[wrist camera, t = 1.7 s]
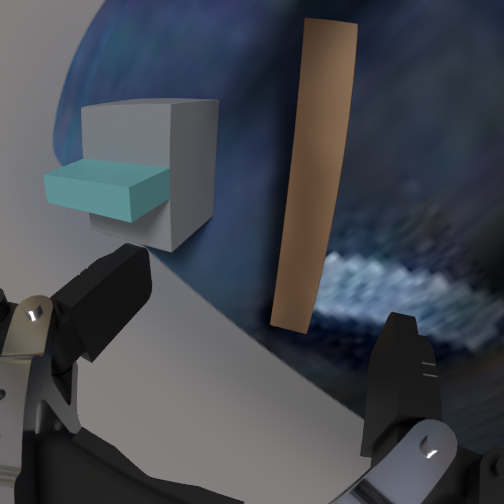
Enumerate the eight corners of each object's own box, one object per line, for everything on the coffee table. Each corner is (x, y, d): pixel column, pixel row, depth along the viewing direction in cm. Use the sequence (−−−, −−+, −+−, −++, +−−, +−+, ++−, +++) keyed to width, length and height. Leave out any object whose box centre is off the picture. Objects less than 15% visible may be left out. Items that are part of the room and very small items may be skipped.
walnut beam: (357, 40, 17) (357, 24, 13) (316, 297, 28) (306, 333, 24) (315, 34, 18) (304, 17, 13) (284, 290, 29) (270, 324, 24)
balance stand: (219, 100, 22) (127, 110, 13) (213, 215, 27) (138, 282, 18) (138, 98, 24) (38, 116, 15) (140, 200, 29) (57, 252, 20)
